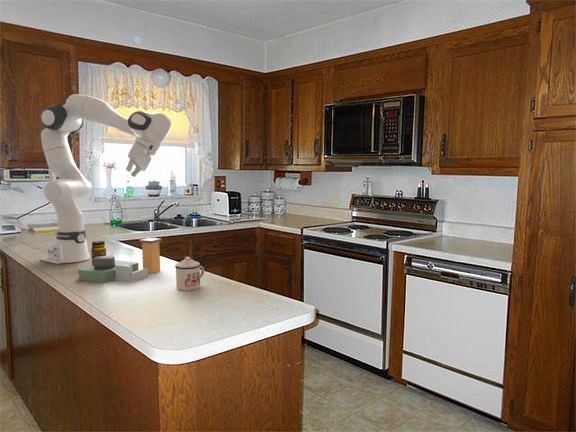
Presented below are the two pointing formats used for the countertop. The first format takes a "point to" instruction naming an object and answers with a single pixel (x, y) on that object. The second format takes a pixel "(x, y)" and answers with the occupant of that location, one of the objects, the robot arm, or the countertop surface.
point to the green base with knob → (112, 270)
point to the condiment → (98, 249)
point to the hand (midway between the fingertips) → (130, 173)
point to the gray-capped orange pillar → (151, 254)
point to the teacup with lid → (188, 274)
